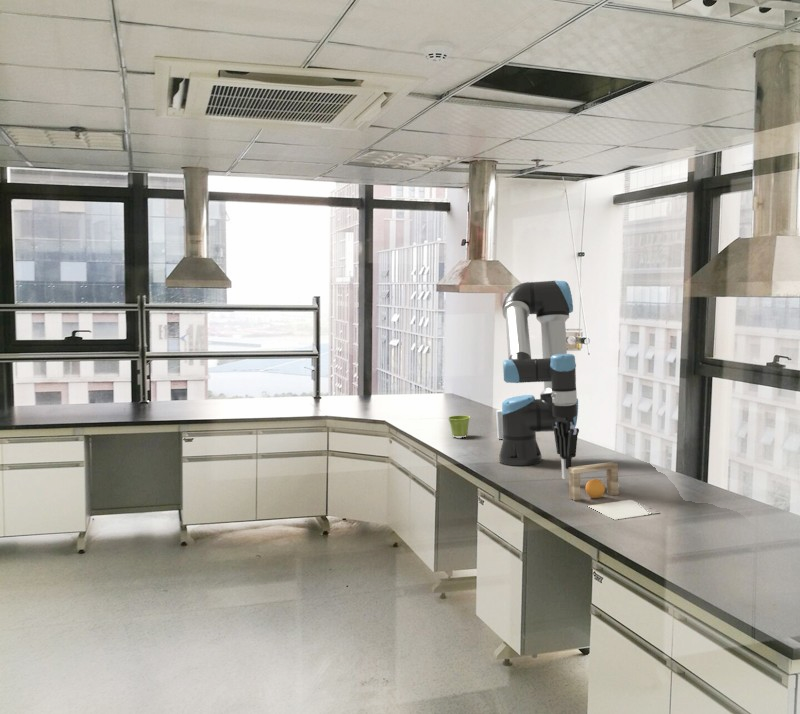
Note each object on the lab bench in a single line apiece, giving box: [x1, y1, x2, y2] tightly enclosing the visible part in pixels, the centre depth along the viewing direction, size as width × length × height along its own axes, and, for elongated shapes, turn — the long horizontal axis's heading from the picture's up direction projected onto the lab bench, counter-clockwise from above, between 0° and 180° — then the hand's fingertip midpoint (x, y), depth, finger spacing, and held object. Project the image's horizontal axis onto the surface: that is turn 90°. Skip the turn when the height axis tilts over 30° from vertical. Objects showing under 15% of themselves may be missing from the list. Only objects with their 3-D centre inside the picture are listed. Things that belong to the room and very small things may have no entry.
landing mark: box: [587, 499, 651, 521], centre depth 207 cm, size 14×14×1 cm
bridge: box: [568, 461, 620, 501], centre depth 221 cm, size 3×14×9 cm, turn 106°
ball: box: [585, 478, 606, 499], centre depth 220 cm, size 6×6×6 cm
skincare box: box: [495, 409, 503, 440], centre depth 313 cm, size 6×4×12 cm
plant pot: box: [447, 414, 471, 436], centre depth 321 cm, size 9×9×9 cm
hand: (567, 478), depth 237 cm, fingers closed
